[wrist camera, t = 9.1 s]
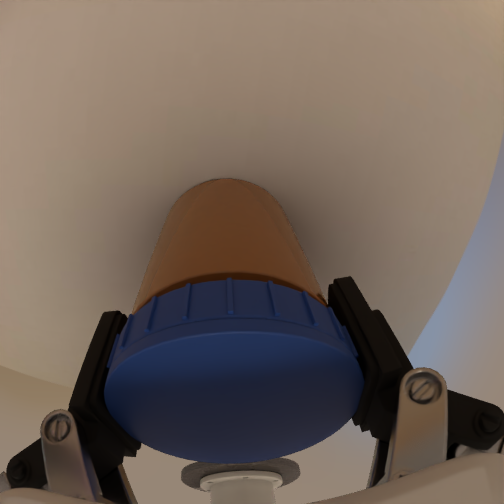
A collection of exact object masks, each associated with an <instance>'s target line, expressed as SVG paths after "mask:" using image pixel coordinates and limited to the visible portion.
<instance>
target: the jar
mask: <svg viewBox="0 0 504 504" xmlns="http://www.w3.org/2000/svg"><path fill="white" fill-rule="evenodd" d="M227 278H232V280H253V281H262V282H268V280H269V281H273V284H277V285H281V286H285V287H289V288H291V289H294V290H297V291H299V292H303V291H306V292H307V293H308V295H309V296H311V297H312V298H313V299H315V300H317V301H318V302H320V303H321V304H322V305H324V306H325V307H326V308H328V307H329V306H328V304H327V302H326V300H325V297H324V295H323V293H322V291H321V289H320V286H319V284H318V282H317V280H316V278H315V275H314V273H313V271H312V269H311V267H310V265H309V262H308V260H307V258H306V256H305V254H304V252H303V250H302V248H301V245H300V243H299V241H298V239H297V237H296V235H295V233H294V231H293V229H292V227H291V225H290V222H289V220H288V218H287V216H286V214H285V212H284V210H283V209H282V207H281V206H280V204H279V203H278V201H277V200H276V199H275V198H274V197H273V196H272V195H271V194H269V193H268V192H267V191H266V190H264V189H262V188H261V187H259V186H257V185H255V184H252V183H250V182H246V181H243V180H237V179H217V180H212V181H208V182H204V183H202V184H200V185H197V186H195V187H193V188H192V189H190V190H188V191H187V192H186V193H185V194H183V195H182V196H181V197H180V198H179V199H178V200H177V201H176V202H175V204H174V205H173V207H172V208H171V210H170V212H169V214H168V216H167V218H166V221H165V223H164V226H163V228H162V230H161V233H160V236H159V238H158V241H157V243H156V246H155V248H154V251H153V254H152V256H151V259H150V262H149V264H148V267H147V270H146V272H145V275H144V278H143V281H142V284H141V286H140V289H139V292H138V295H137V298H136V301H135V304H134V307H133V310H132V313H131V314H132V315H134V314H135V313H136V312H137V311H139V310H140V309H141V308H142V307H143V306H145V305H146V304H148V303H149V302H150V301H151V300H152V297H154V296H156V297H159V296H162V295H164V294H166V293H168V292H170V291H173V290H176V289H179V288H182V287H185V286H186V284H188V283H191V285H193V284H197V283H201V282H208V281H220V280H227Z"/></svg>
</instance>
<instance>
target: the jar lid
mask: <svg viewBox="0 0 504 504" xmlns="http://www.w3.org/2000/svg"><path fill="white" fill-rule="evenodd" d="M358 357H359V355H358V353H357V351H356V348H355V346H354V344H353V342H352V339H351V337H350V335H349V333H348V331H347V329H346V326H345V325H344V326H342V325H341V324H340V322H339V321H338V319H337V318H336V316H335V314H334V312H333V310H332V308H331V307H328V308H326V307H325V306H324V305H322V304H321V303H320V302H318V301H317V300H315V299H313V298H312V297H311V296H309V295H308V293H307V292H306V291H303V292H299V291H297V290H294V289H291V288H289V287H285V286H281V285H277V284H273V281H269V280H268V282H262V281H253V280H232V278H227V280H220V281H208V282H201V283H197V284H193V285H191V283H188V284H186V286H185V287H182V288H179V289H176V290H173V291H170V292H168V293H166V294H164V295H162V296H159V297H156V296H154V297H152V300H151V301H150V302H149V303H148V304H146V305H145V306H143V307H142V308H141V309H140V310H139V311H137V312H136V313H135V314H134V315H132V314H130V315H129V317H128V320H127V323H126V325H125V326H124V328H123V330H122V332H121V334H120V335H119V334H117V336H116V339H115V342H114V345H113V348H112V351H111V354H110V358H109V361H108V364H107V367H108V368H110V369H109V372H108V376H107V379H106V383H105V389H104V399H105V403H106V406H107V409H108V411H109V413H110V414H111V416H112V417H113V418H114V419H115V420H116V421H117V423H118V424H119V425H120V426H121V427H122V428H123V429H124V430H125V431H126V432H127V433H128V434H129V435H130V436H132V437H133V438H134V439H136V440H138V441H139V442H141V443H143V444H145V445H147V446H149V447H151V448H153V449H155V450H158V451H160V452H163V453H166V454H169V455H172V456H175V457H179V458H183V459H188V460H194V461H199V462H208V463H225V464H229V463H249V462H257V461H264V460H269V459H274V458H279V457H282V456H286V455H289V454H292V453H295V452H298V451H301V450H303V449H306V448H308V447H310V446H313V445H315V444H317V443H319V442H321V441H323V440H324V439H326V438H327V437H329V436H331V435H332V434H334V433H335V432H336V431H338V430H339V429H340V428H341V427H342V426H344V424H346V423H347V422H348V421H349V420H350V419H351V418H352V416H353V415H354V414H355V413H356V411H357V408H358V405H359V401H360V398H361V394H362V391H363V387H364V382H365V379H364V376H363V373H362V370H361V368H360V366H359V363H358V361H357V359H356V358H358Z"/></svg>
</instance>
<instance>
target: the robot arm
mask: <svg viewBox="0 0 504 504" xmlns="http://www.w3.org/2000/svg"><path fill="white" fill-rule="evenodd" d="M328 306H329V307H331V308H332V310H333V312H334V314H335V316H336V318H337V319H338V321H339V322H340V324H341V325H342V326H344V325H345V326H346V329H347V331H348V333H349V335H350V337H351V339H352V342H353V344H354V346H355V348H356V351H357V353H358V355H359V357H358V358H356V359H357V361H358V363H359V366H360V368H361V370H362V373H363V376H364V379H365V382H364V387H363V391H362V394H361V398H360V401H359V405H358V408H357V411H356V413H355V414H354V415H353V416H352V420H353V423H354V425H355V426H357V425H360V428H361V431H362V432H364V431H368V430H370V432H371V435H372V437H375V438H377V441H376V446H375V451H374V456H373V461H372V466H371V470H370V475H369V479H368V483H367V488H366V489H364V490H361V491H358V492H354V493H351V494H347V495H343V496H339V497H335V498H331V499H327V500H322V501H318V502H313V503H307V504H504V413H503V411H502V410H501V409H500V408H499V407H498V406H496V405H494V404H491V403H488V402H484V401H481V400H478V399H475V398H472V397H469V396H466V395H463V394H459V393H457V392H454V391H451V390H447V385H446V381H445V380H444V378H443V376H441V375H440V374H439V373H438V372H437V371H435V370H433V369H430V368H425V367H423V368H416V369H413V367H412V365H411V363H410V361H409V359H408V358H407V356H406V354H405V352H404V350H403V349H402V347H401V345H400V343H399V342H398V340H397V338H396V336H395V335H394V333H393V331H392V330H391V328H390V326H389V324H388V323H387V321H386V319H385V318H384V316H383V314H382V313H381V312H380V311H379V310H373V311H372V310H371V309H370V307H369V305H368V304H367V302H366V300H365V298H364V297H363V295H362V293H361V292H360V290H359V288H358V287H357V285H356V283H355V282H354V280H353V278H352V277H351V276H348V277H343V278H338V279H334V281H333V284H329V287H328ZM127 320H128V318H127V316H126V315H125V314H122V313H121V312H120V311H109V312H104V313H103V314H102V316H101V319H100V321H99V324H98V326H97V329H96V331H95V333H94V336H93V338H92V341H91V344H90V346H89V349H88V351H87V354H86V357H85V359H84V362H83V365H82V367H81V370H80V373H79V376H78V379H77V382H76V385H75V388H74V391H73V394H72V397H71V400H70V403H69V408H68V411H67V410H63V409H59V410H54V411H52V412H50V413H49V414H48V415H47V416H46V417H45V418H44V420H43V421H42V424H41V430H40V433H41V438H40V439H38V440H37V441H35V442H34V443H32V444H31V445H30V446H28V447H27V448H25V449H24V450H23V451H21V452H20V453H18V454H17V455H15V456H14V457H13V458H12V459H11V460H10V462H9V463H8V466H7V472H6V473H5V472H2V473H1V474H0V504H138V503H137V500H136V498H135V496H134V494H133V491H132V488H131V486H130V483H129V481H128V478H127V476H126V473H125V470H124V468H123V465H122V463H123V457H124V456H128V457H136V452H137V450H139V449H140V448H141V442H139V441H138V440H136V439H134V438H133V437H132V436H130V435H129V434H128V433H127V432H126V431H125V430H124V429H123V428H122V427H121V426H120V425H119V424H118V423H117V421H116V420H115V419H114V418H113V417H112V416H111V414H110V413H109V411H108V409H107V406H106V403H105V399H104V389H105V383H106V379H107V376H108V372H109V369H110V368H108V367H107V364H108V361H109V358H110V354H111V351H112V348H113V345H114V342H115V339H116V336H117V334H119V335H120V334H121V332H122V330H123V328H124V326H125V325H126V323H127ZM282 483H283V481H282V476H281V475H279V474H277V473H274V472H269V471H258V470H242V471H229V472H221V473H215V474H211V475H208V476H205V477H203V478H202V479H201V480H200V487H201V488H202V489H203V490H205V491H207V492H210V493H211V504H275V497H274V490H273V489H275V488H277V487H279V486H280V485H281V484H282Z"/></svg>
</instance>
